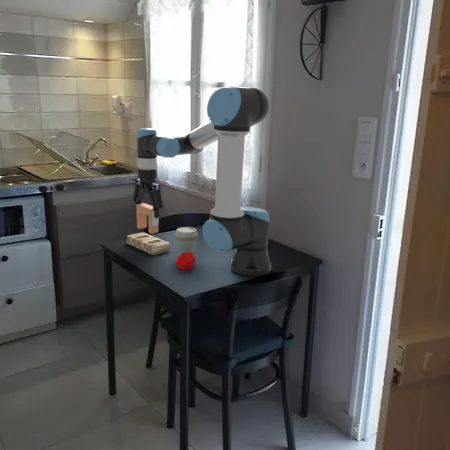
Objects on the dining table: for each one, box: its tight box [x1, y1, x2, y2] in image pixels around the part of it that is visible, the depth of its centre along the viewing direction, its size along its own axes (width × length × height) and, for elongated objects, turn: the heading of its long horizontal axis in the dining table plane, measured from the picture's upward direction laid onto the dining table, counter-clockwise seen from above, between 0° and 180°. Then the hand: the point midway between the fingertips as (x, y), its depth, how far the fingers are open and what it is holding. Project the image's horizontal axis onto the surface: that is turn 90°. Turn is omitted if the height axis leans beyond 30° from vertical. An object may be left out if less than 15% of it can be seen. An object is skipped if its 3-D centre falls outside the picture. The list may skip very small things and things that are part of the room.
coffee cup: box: [174, 226, 198, 257], centre depth 185 cm, size 8×8×12 cm
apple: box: [175, 252, 196, 271], centre depth 177 cm, size 7×7×8 cm
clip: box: [136, 202, 159, 235], centre depth 196 cm, size 10×4×10 cm, turn 44°
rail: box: [126, 231, 171, 256], centre depth 199 cm, size 19×8×4 cm, turn 44°
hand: (147, 222), depth 196 cm, fingers closed on clip, 10 cm apart
